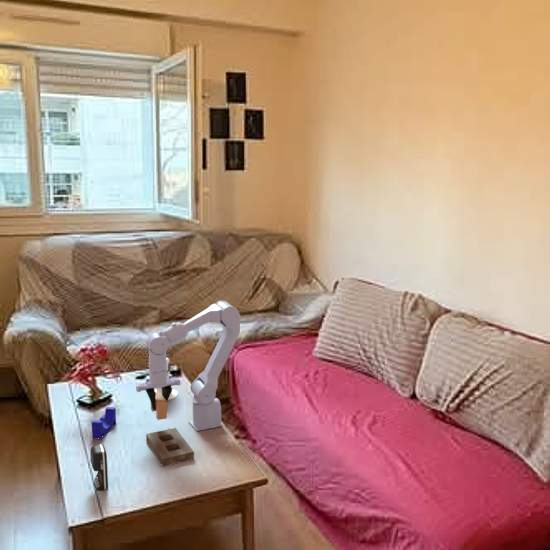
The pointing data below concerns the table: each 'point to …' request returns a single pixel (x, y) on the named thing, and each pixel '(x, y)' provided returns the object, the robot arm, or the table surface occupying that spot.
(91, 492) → the table surface
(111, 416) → the blue cradle block
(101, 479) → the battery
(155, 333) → the robot arm
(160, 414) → the prong clip
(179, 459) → the brown board with holes
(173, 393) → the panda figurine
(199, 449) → the table surface
